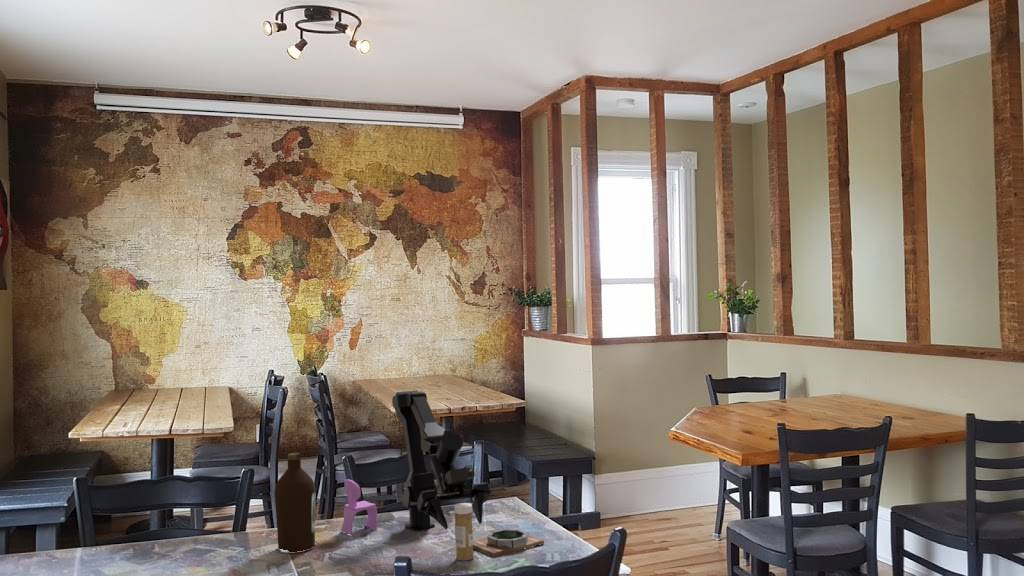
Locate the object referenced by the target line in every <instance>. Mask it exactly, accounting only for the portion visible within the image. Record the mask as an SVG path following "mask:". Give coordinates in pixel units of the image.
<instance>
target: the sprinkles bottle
mask: <svg viewBox="0 0 1024 576" xmlns="http://www.w3.org/2000/svg"><path fill="white" fill-rule="evenodd" d="M472 504H473V503H471V502H470V503H469V502H458V503H455V504H454V505H453V506H454V507H453V513H454V530H455V531H454V532H455V533H454V534H455V535H454V536H455V538H454V539H455V549H456V551H455V553H456V554H455V555H456V556H455V558H456V560H458V561H461V562H462V561H463V562H464V561H465V562H466V561H471V560H473V559H474V557H475V556H474V549H473V541H474V536H473V533H474V532H473V531H474V530H473V519H472V518H473V516H472V514H473V508H472Z"/></svg>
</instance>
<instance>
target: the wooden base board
mask: <svg viewBox="0 0 1024 576" xmlns="http://www.w3.org/2000/svg"><path fill="white" fill-rule="evenodd" d="M540 544H544V545H545V540H543V539H541V538H539V537H536V536H533V535H530V534H528V541H527V543H526V545H524V546H520V547H516V548H495V547H493V546H490V545H488V540H487V537H485V538H480V539H475V540H474V539H473V550H476V551H478V552H480V553H483V554H484V555H487V556H490V557H493V558H496V557H500V556H503V555H507V554H511V553H512V554H513V553H514V552H515V551H516V552H520V551H523V550H522V549H524V548H528V549H530V548H529V547H532V546H536V545H540ZM540 546H541V545H540ZM536 547H537V546H536ZM532 548H533V547H532ZM519 550H520V551H519ZM524 550H525V549H524ZM516 552H515V553H516Z"/></svg>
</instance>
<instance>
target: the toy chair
mask: <svg viewBox="0 0 1024 576" xmlns="http://www.w3.org/2000/svg"><path fill="white" fill-rule="evenodd" d="M343 486H344V489H345V491H346V497H347V502H348V503H346V504H344V508H343V522H342V525H341V529H340V531H342V532H345V533H347V534H350V535H352V536H353V524H354V519H355V516H356V514H357V513H359V512H362V511H364V510H366V512H367V519H366V521H365V524H364V527H365V526H367V527H366V528H368V527H370V528H372V529H371V530H373V529H375V530H374V531H378V508H377V504H376V503H371V502H369V501H366V500H362V501H358V499H360V498H361V496H362V494H361V487H360V485H359V484H358V483H357V482H355V480H352V479H349V478H347V479H345V481H344V485H343ZM370 528H369V529H370Z"/></svg>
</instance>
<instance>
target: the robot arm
mask: <svg viewBox="0 0 1024 576" xmlns="http://www.w3.org/2000/svg"><path fill="white" fill-rule="evenodd" d="M391 399H392V400H391V403H392V407H393V409H394V411H395V416H396V417H397V418H398V419H399V420H400V421H401V423H402V427H403V428H402V429H403V433H404V441H405V448H406V454H407V461H408V466H409V473H408V476H407V479H406V481H405V489H404V492H403V494H402V497H401V500H402V501H401V502H402V506H403V507H404V508H406V509H408V511H409V523H405V524H404V527H406V528H409V529H411V530H413V531H420V530H424V529H429V528H433V527H435V526H436V525H435V523H432V522H431V518H433V519H434V521H436V522H437V523H439V525H440V526H441V527H442V528H443V529H444V530H448V528H449V525H448V521H447V519H446V517H445V514H444V510H443V508H442V505H441V503H444V502H452V501H459V500H468V499H470V503H471V504H472V512H473V513H474V516H475V517H476V520H477V522H478V524H479V525H481V524H482V523H483V505H484V503H486V502H487V501H488V498H489V497H490V494H491V492H492V488H491V486H490V484H489V483H488V482H481V483H479V482H478V483H473V486H472V488H471V489H468V490H464V488H466V487H467V482H469V481H470V479H473V478H474V477H475V475H476V473H475V469H474V467H473V465H472V464H468V465H465V466H464V467H461V468H456V463H455V462H456V461H457V460H458V458H459V456H460V453H461V450H462V448H463V445H464V441H463V438H462V437H461V436H459V434H457V433H454V432H453V431H452V429H445V428H444V427H443V426H441V425H439V424H438V422H437V420H436V418H435V415H434V412H433V411H432V409H431V407H430V404H429V402H428V397H427V393H426V392H425V391H422V390H421V391H418V390H407V391H406V390H405V391H397V392H396V393H395V395H393V396H392V398H391ZM425 456H428V457H429V456H433V457H432V458H431V460H430V464H431V465H430V469H431V471H433V472H434V474H433V472H430V471H429V470H428V469H427V465H426V460H425V459H426V458H425ZM434 477H435V478H434ZM435 479H436V483H435ZM438 488H439V491H440V493H438Z"/></svg>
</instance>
